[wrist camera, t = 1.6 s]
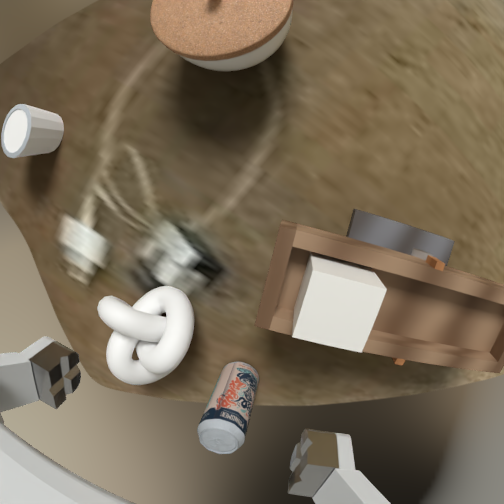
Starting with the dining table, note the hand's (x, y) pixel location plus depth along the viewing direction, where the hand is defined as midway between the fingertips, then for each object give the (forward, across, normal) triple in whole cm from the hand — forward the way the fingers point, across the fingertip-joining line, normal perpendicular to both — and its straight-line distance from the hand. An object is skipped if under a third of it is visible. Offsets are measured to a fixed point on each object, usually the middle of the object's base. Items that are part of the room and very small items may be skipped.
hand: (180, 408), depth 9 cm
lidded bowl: (+25, +8, -22) cm, 34 cm away
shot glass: (+25, +32, -8) cm, 41 cm away
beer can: (+25, -1, +17) cm, 30 cm away
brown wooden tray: (+25, -14, 0) cm, 28 cm away
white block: (+16, -7, 0) cm, 17 cm away
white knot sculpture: (+25, +10, +13) cm, 30 cm away
